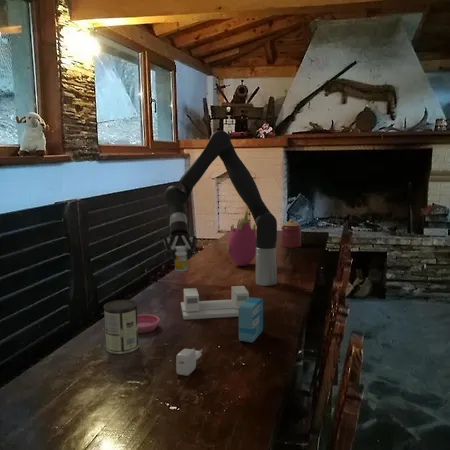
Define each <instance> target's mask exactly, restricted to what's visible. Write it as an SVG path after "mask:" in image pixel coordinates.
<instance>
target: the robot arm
mask: <svg viewBox="0 0 450 450" xmlns="http://www.w3.org/2000/svg"><path fill="white" fill-rule="evenodd" d="M231 140H232V139H231V137H230V135H229V133H228V132H226V131H225V130H222V129H221V130H216V131H214V132H213V133H212V134H211V135H210V137H209V140H208V142H207V144H206V145H205V148H204V149H203V150H202V152H201V153H200V155H199V156H198V157H197V158H196V159H195V160H194V161H193V163H192V164H191V165H190V166H189V167H188V168H187V170H186V171H185V172H184V173H183V175H181V177H180V179H179V182H180V184H182V189H181V188H179V187H178V186H175V185H170V186H168V187H167V188H166V189H165V192H164V199H165V202H166V206H167V207H168V210H169V229H170V230H169V231H170V232H169V233H170V235H169V237H166V236H165V237H163V244H164V247H165V250H166V252H167V253H170V257H171V259H172V260H173V261H175V252H176V247H177V246H185V247H186V250H185V251H186V252H187V257H188V260H190V259H191V258H192V252H193V251H195V247H196V239H197V237H196V235H193V236H190V235H189V229H188V227H189V226H188V218H187V210H186V207H185V205H186V204H187V202H188V200H189V198H190V196H191V193H192V192H193V189H194V187H195V186H196V185H197V183H198V182H199V181H200V180H201V179H202V177H203V175H204V174H205V173H206V171H207V170H208V168H209V167H210V166H211V165H212V164H213V162H214V161H215V160H216V159H217V158H218V157H219V159H220V160H221V161H222V163H223V166H224V168H225V170H226V172H227V175H228V178H229V179H230V182H231V183H232V186H233V187H234V189H235V191H236V192H237V194H238V195H239V198H241V200H242V201H243V202H244V204H245V205H246V206H247V208H248V209H249V211H250V214H251V215H252V219H253V220H254V224H255V225H256V232H255V235H256V254H255V284H256V285H257V286H263V287H264V286H265V287H266V286H267V287H269V286H271V287H272V286H274V285H277V284H278V277H277V276H278V264H277V263H276V261H277V260H276V258H277V257H276V256H277V239H278V236H277V235H278V221H277V219H276V217H275V215H274V214H273V213H272V212H271V211H270V210H269V209H268V207H267V206H266V204H265V202H264V201H263V199H262V196H261V193H260V191H259V188H258V186H257V183H256V181H255V179H254V178H253V176H252V174H251V173H250V171H249V169H248V168H247V166H246V164H244V163H243V161H242V159H241V158H240V157H239V156H238V154H237V152H236V150H235V147H234V145H233V143H232V141H231ZM189 241H190V242H191V246H190V244H189ZM170 243H172V245H171V246H170V245H169V244H170Z"/></svg>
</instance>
